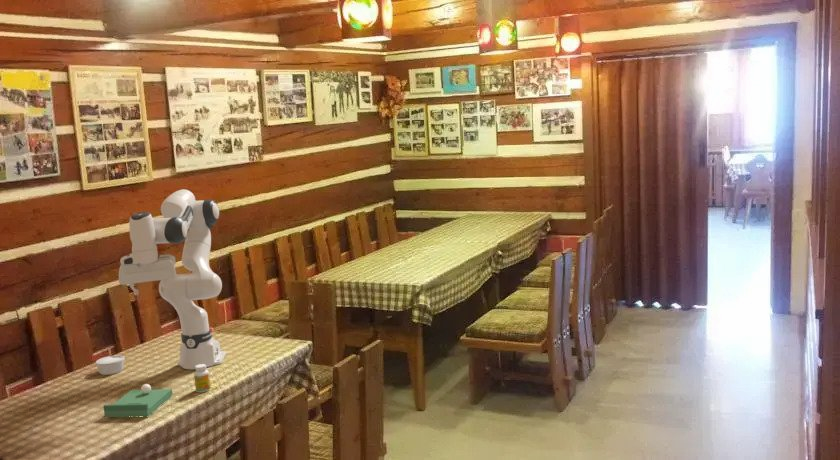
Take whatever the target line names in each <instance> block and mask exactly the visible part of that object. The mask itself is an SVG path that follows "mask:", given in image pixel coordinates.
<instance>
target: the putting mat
mask: <svg viewBox="0 0 840 460" xmlns="http://www.w3.org/2000/svg"><path fill="white" fill-rule="evenodd" d="M172 395H174V394H173V389H171V388H169V389H168V388H167V389H166V388H165V389H163V388H161V389H151V391H150V393H148V394H144V393H142V391H141V389H130V390H129V391H128V392H127V393H126V394H124V395H123V396H122V397H120V398H119V399H118V400H117V401H115V402H114V403H113V404H103V413H104V418H106V417H127V418H132V417H131V416H134V417H133V418H136V417H135V416H138V417H137V418H140V417H139V416H143V417H142V418H148V417H147V416H149V415H150V414H151V413H152V412H153V411H154V412H156V411H157V410H158V409H159V408H160V407H161V406H162V405H164V404H165V403H166V402H167V401H168V400H170V399H171V398H172V397H173V396H172ZM171 396H172V397H171ZM165 401H166V402H165ZM164 402H165V403H164ZM163 403H164V404H163ZM161 404H162V405H161ZM160 405H161V406H160ZM159 406H160V407H159ZM158 407H159V408H158ZM157 408H158V409H157ZM156 409H157V410H156ZM155 410H156V411H155ZM154 412H153V413H154ZM153 413H152V414H153ZM152 414H151V415H152ZM151 415H150V416H151ZM129 416H130V417H129ZM150 416H149V417H150ZM106 419H107V418H106Z"/></svg>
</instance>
